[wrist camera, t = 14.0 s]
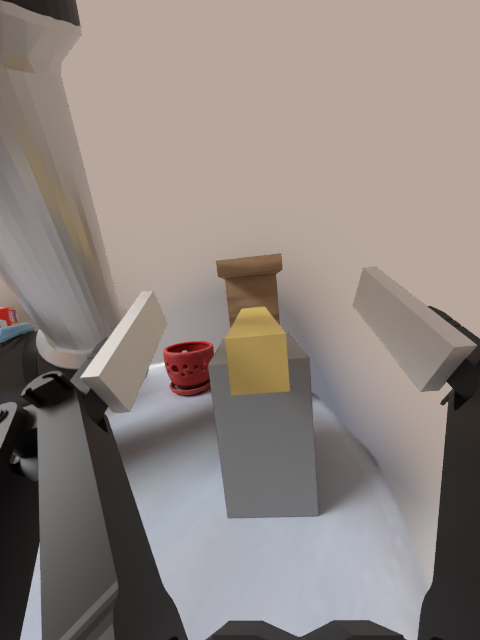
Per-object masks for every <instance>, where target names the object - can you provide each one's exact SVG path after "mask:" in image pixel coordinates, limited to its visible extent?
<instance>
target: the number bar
mask: <svg viewBox="0 0 480 640" xmlns="http://www.w3.org/2000/svg"><path fill="white" fill-rule="evenodd" d="M225 345H226V354H227V362H228V371H229V380H230V388H231V395H244V394H259V393H274V392H289V391H290V385H289V371H288V357H287V343H286V333H285V332H284V331H283V329H282V328H281V327H280V325H279V324H278V323H277V322H276V320H275V319H274V318H273V316H272V315H271V314H270V313H269V311H268V310H267V309H266V307H254V308H244V309H241V311H240V312H239V314H238V316H237V318H236V320H235V321H234V323H233V325H232V327H231V329H230V330H229V332H228V334H227V336H226V338H225Z"/></svg>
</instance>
